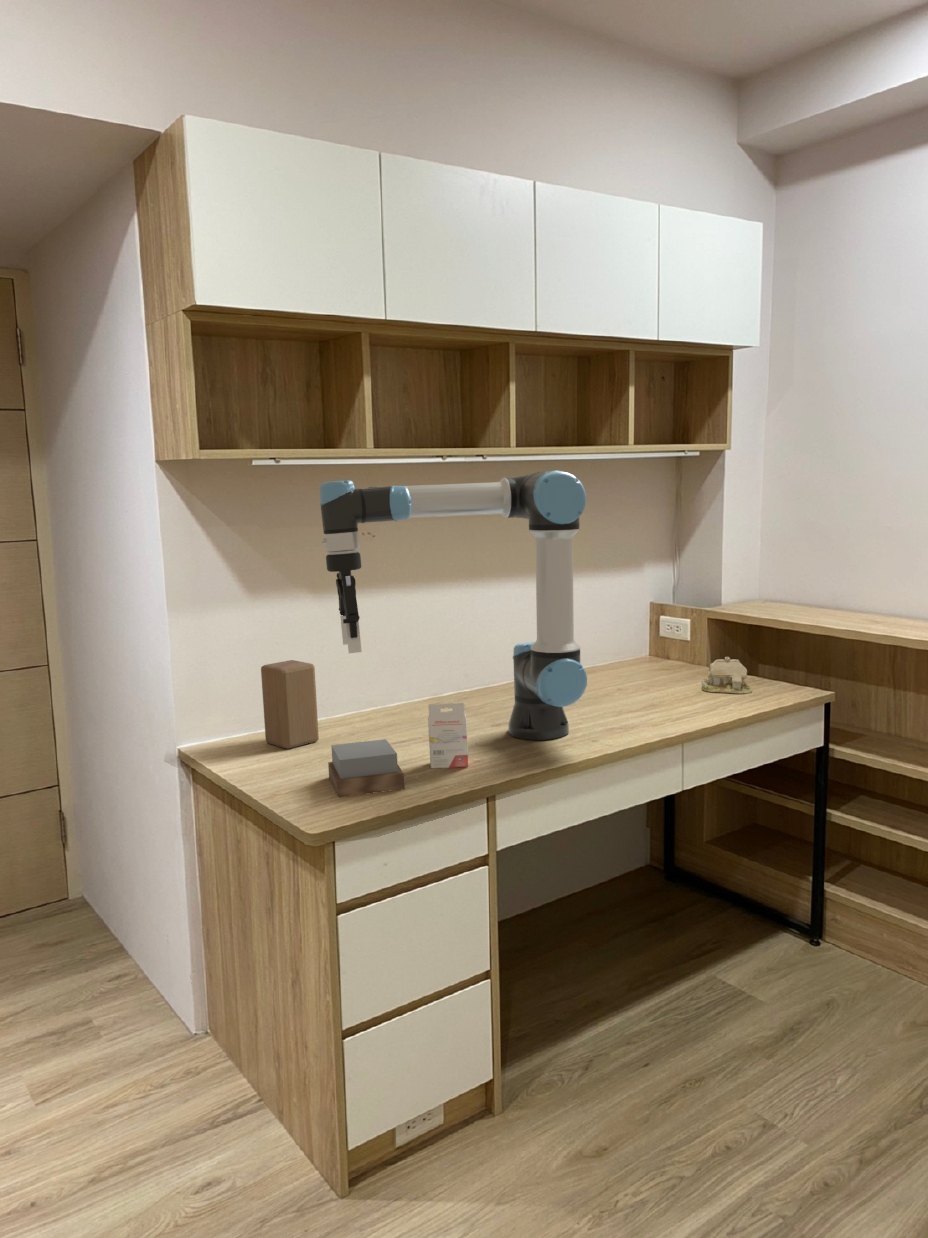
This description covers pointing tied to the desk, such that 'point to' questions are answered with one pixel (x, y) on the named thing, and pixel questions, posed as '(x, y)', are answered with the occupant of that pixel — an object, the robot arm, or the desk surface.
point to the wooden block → (289, 703)
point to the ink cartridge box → (448, 736)
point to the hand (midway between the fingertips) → (352, 648)
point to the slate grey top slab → (364, 758)
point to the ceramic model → (726, 677)
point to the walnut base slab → (365, 782)
